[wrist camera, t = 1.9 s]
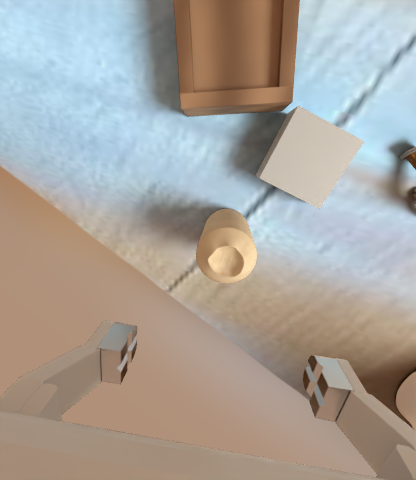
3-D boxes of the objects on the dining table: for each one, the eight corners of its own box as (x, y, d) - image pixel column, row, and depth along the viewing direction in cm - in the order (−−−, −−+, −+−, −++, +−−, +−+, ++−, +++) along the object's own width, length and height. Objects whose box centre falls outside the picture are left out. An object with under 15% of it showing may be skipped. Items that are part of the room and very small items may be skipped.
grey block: (343, 144, 25) (364, 141, 21) (306, 202, 27) (319, 208, 23) (287, 114, 24) (298, 105, 20) (254, 175, 27) (259, 178, 23)
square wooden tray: (289, -14, 21) (303, -53, 17) (282, 111, 24) (292, 101, 20) (180, -2, 22) (171, -37, 18) (188, 116, 25) (181, 108, 21)
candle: (199, 242, 30) (186, 280, 20) (212, 202, 28) (204, 223, 18) (239, 255, 30) (245, 299, 20) (254, 215, 28) (269, 244, 18)
